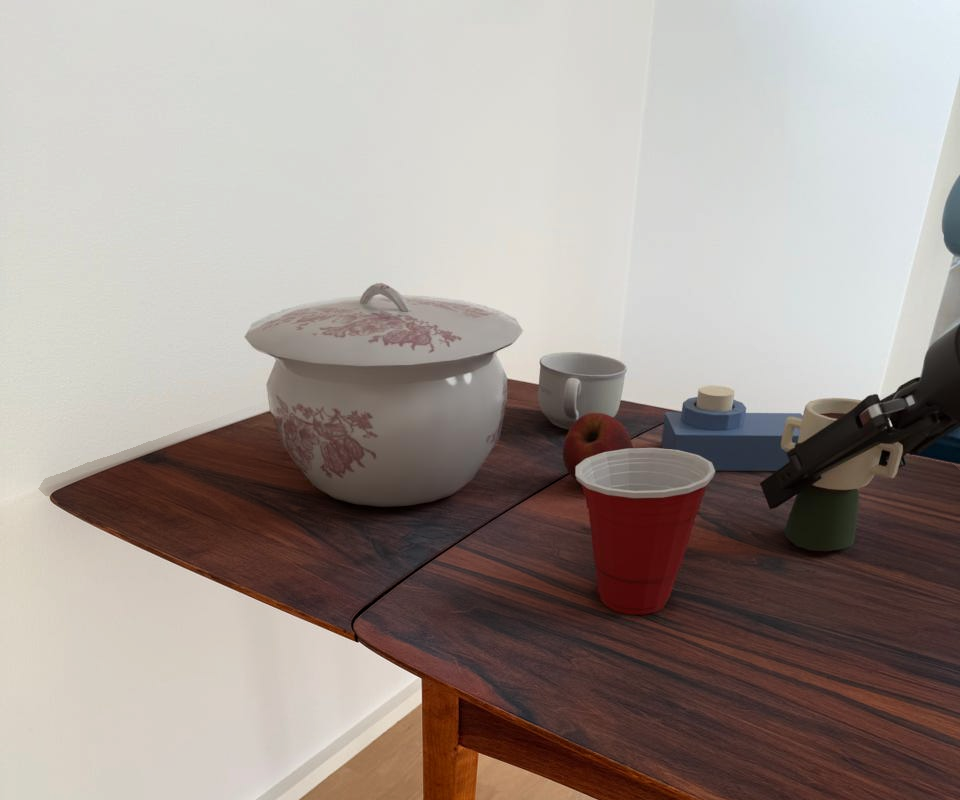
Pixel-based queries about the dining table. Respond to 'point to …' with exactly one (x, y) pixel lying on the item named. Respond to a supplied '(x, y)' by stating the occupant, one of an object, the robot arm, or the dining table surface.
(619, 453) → the plastic cup
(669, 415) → the blue rectangular block
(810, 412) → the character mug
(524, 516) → the dining table surface
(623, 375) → the teacup
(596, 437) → the apple
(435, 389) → the chamber pot
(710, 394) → the button
